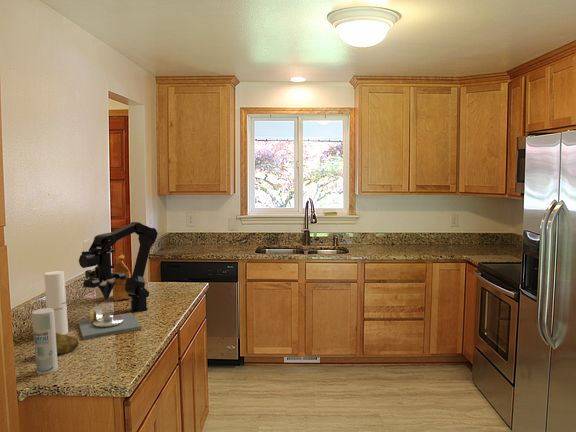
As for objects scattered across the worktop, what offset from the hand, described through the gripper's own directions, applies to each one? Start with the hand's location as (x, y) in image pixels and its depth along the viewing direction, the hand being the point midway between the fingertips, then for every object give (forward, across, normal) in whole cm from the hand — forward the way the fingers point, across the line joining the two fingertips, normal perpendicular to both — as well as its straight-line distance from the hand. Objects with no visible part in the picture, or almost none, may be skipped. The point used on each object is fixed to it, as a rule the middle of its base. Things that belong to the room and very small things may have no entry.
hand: (106, 299), depth 209 cm
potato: (+10, +35, +14) cm, 39 cm away
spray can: (+10, +46, +24) cm, 53 cm away
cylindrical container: (+10, +20, -5) cm, 23 cm away
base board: (+10, +6, +8) cm, 14 cm away
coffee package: (+10, -30, -23) cm, 39 cm away
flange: (+8, +7, +7) cm, 12 cm away
